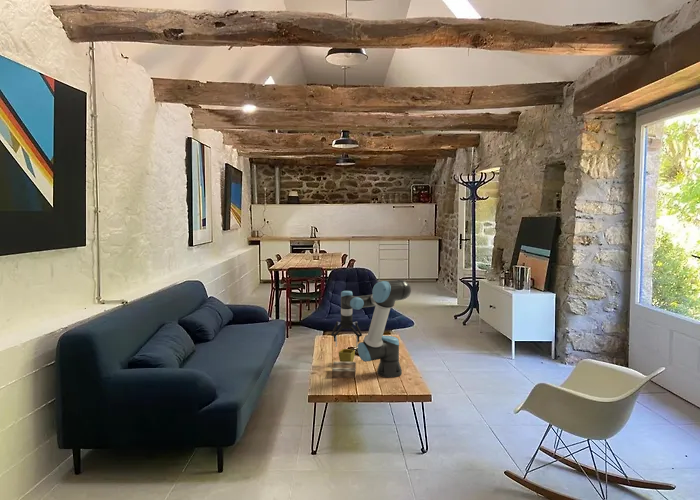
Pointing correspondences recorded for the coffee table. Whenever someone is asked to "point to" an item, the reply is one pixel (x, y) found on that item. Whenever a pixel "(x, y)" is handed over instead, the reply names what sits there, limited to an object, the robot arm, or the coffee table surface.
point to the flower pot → (346, 355)
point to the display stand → (344, 370)
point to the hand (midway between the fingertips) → (346, 346)
